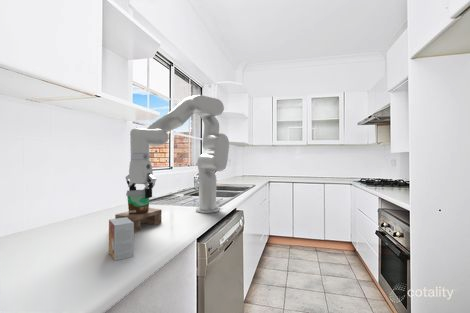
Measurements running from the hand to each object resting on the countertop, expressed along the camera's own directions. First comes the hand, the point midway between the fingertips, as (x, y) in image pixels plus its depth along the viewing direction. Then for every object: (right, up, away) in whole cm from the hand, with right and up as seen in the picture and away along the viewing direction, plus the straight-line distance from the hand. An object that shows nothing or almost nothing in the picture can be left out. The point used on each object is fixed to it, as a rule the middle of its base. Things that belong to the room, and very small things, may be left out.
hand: (140, 196), depth 106 cm
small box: (+5, -13, -30) cm, 33 cm away
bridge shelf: (-1, -13, 0) cm, 13 cm away
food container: (+1, -7, -1) cm, 7 cm away
